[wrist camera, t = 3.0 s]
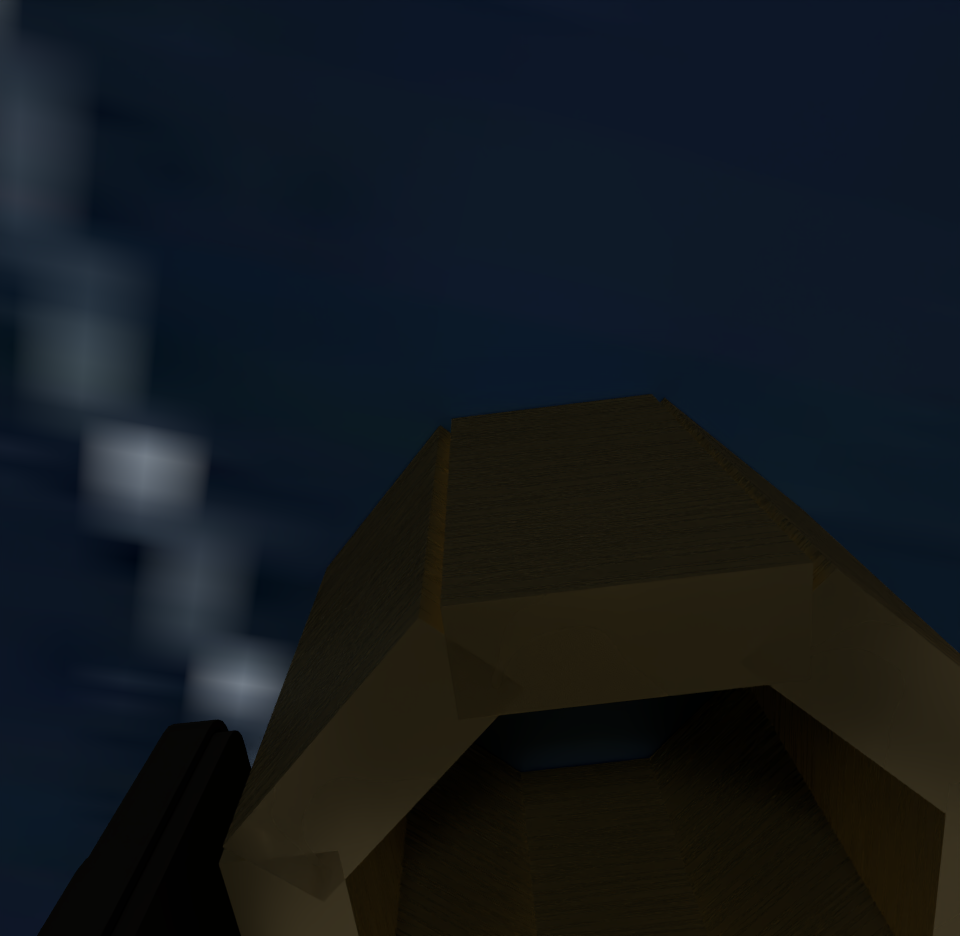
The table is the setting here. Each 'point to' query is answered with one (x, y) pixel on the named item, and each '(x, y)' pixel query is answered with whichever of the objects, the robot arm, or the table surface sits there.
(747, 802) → the ring
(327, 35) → the table surface
